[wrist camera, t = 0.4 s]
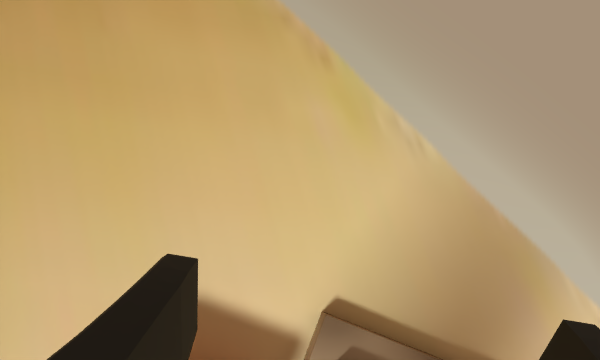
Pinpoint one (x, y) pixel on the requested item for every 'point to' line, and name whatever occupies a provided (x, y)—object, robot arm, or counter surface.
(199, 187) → the counter surface
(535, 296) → the counter surface
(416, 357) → the display stand
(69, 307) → the counter surface
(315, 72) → the counter surface
